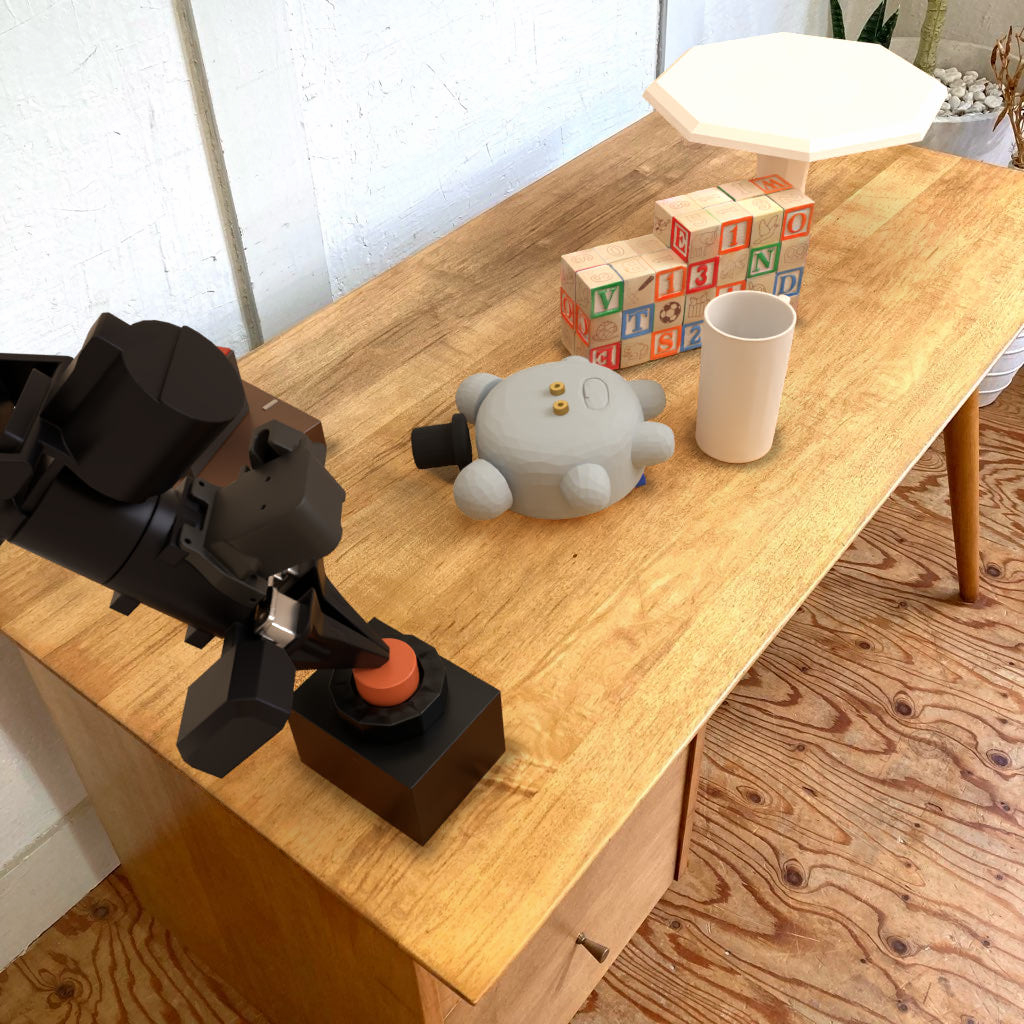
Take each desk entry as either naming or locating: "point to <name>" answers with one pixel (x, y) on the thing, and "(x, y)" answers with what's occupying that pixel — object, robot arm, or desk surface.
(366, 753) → the button box
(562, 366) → the figurine
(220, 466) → the dial panel
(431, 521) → the desk surface
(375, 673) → the button
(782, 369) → the mug
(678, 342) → the stack of blocks
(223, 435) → the dial pointer
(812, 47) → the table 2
